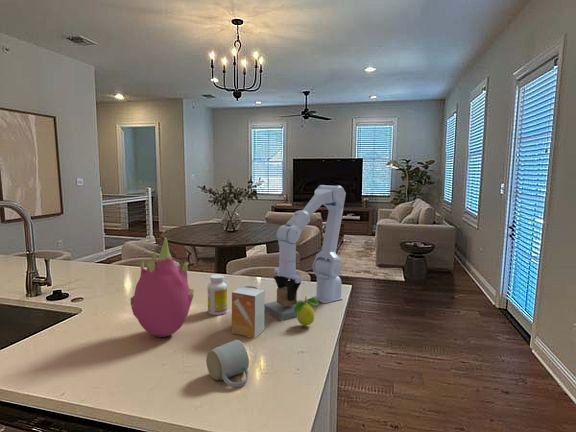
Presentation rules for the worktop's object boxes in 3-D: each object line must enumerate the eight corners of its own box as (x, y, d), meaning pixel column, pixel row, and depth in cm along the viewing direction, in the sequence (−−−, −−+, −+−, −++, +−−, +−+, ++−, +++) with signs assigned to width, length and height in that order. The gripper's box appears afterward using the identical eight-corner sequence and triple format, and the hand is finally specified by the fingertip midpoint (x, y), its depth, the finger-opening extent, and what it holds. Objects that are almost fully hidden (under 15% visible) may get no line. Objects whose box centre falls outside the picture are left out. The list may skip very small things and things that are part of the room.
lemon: (318, 324, 122) (318, 294, 121) (313, 331, 116) (314, 300, 115) (298, 321, 124) (299, 292, 123) (292, 328, 119) (293, 297, 117)
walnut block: (288, 299, 136) (288, 286, 135) (296, 303, 132) (296, 290, 131) (276, 302, 133) (276, 288, 132) (284, 306, 129) (285, 292, 128)
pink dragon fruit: (195, 324, 120) (194, 231, 117) (192, 343, 107) (190, 239, 104) (137, 327, 117) (134, 232, 114) (126, 347, 104) (122, 240, 101)
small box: (231, 333, 114) (231, 291, 112) (242, 325, 119) (242, 286, 118) (254, 338, 110) (255, 295, 109) (264, 330, 116) (265, 289, 115)
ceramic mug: (204, 374, 91) (204, 344, 90) (233, 363, 96) (233, 334, 95) (226, 394, 83) (226, 362, 82) (257, 382, 88) (257, 351, 87)
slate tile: (291, 303, 141) (291, 298, 141) (310, 313, 131) (310, 307, 131) (263, 309, 135) (263, 303, 134) (281, 320, 125) (281, 314, 124)
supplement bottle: (231, 310, 133) (230, 275, 131) (220, 317, 127) (219, 280, 125) (215, 307, 136) (215, 272, 134) (203, 313, 130) (203, 277, 128)
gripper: (267, 257, 135) (266, 294, 136) (289, 265, 123) (289, 306, 124) (283, 255, 138) (283, 290, 140) (307, 263, 126) (306, 302, 128)
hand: (287, 297), depth 132 cm, fingers closed on walnut block, 5 cm apart
